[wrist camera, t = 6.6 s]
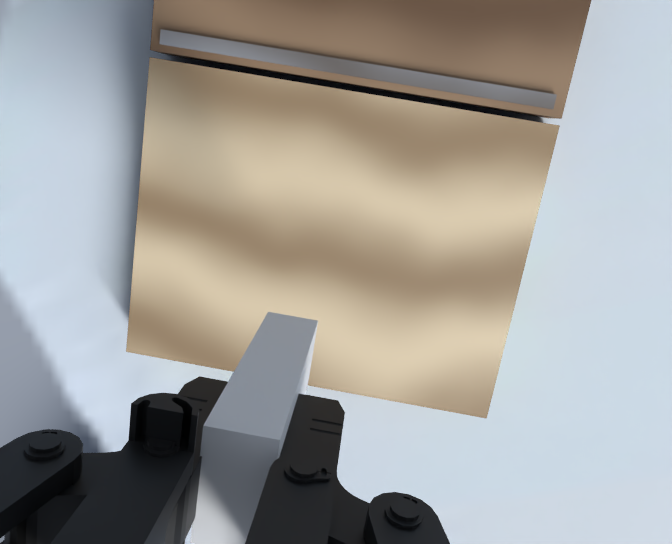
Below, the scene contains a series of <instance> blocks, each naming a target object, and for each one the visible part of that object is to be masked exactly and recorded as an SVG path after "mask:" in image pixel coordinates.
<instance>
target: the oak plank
mask: <svg viewBox="0 0 672 544" xmlns="http://www.w3.org/2000/svg"><path fill="white" fill-rule="evenodd" d="M558 130H559V125H553V124H547V123H541V122H535V121H529V120H523V119H517V118H511V117H505V116H499V115H493V114H487V113H481V112H475V111H469V110H463V109H457V108H451V107H445V106H439V105H433V104H427V103H421V102H415V101H409V100H403V99H397V98H391V97H385V96H379V95H373V94H367V93H361V92H355V91H349V90H343V89H337V88H331V87H325V86H319V85H313V84H307V83H301V82H295V81H289V80H283V79H277V78H271V77H265V76H259V75H253V74H247V73H241V72H235V71H229V70H223V69H217V68H211V67H205V66H199V65H193V64H187V63H181V62H175V61H169V60H163V59H157V58H151V57H150V60H149V72H148V85H147V97H146V110H145V122H144V135H143V147H142V160H141V173H140V185H139V198H138V210H137V223H136V235H135V248H134V260H133V273H132V285H131V298H130V311H129V323H128V336H127V348H126V352H131V353H136V354H141V355H147V356H152V357H158V358H163V359H168V360H174V361H179V362H185V363H190V364H195V365H201V366H206V367H212V368H217V369H222V370H228V371H233V372H234V371H235V369H236V367H237V366H238V364H239V362H240V360H241V359H242V357H243V355H244V353H245V352H246V350H247V348H248V346H249V344H250V343H251V341H252V339H253V337H254V336H255V334H256V332H257V330H258V329H259V327H260V325H261V323H262V322H263V320H264V318H265V316H266V315H267V313H268V312H273V313H279V314H284V315H290V316H295V317H301V318H306V319H312V320H317V321H318V325H317V331H316V337H315V344H314V350H313V356H312V362H311V368H310V374H309V381H308V385H309V386H314V387H320V388H325V389H331V390H336V391H341V392H347V393H352V394H358V395H363V396H368V397H374V398H379V399H385V400H390V401H395V402H401V403H406V404H412V405H417V406H422V407H428V408H433V409H439V410H444V411H449V412H455V413H460V414H466V415H471V416H476V417H482V418H487V414H488V410H489V406H490V402H491V398H492V394H493V390H494V386H495V382H496V378H497V374H498V370H499V366H500V362H501V358H502V354H503V350H504V346H505V342H506V338H507V334H508V330H509V326H510V322H511V318H512V314H513V310H514V306H515V302H516V298H517V294H518V290H519V286H520V282H521V278H522V274H523V270H524V266H525V262H526V258H527V254H528V250H529V246H530V242H531V238H532V234H533V230H534V226H535V222H536V218H537V214H538V210H539V206H540V202H541V198H542V194H543V190H544V186H545V182H546V178H547V174H548V170H549V166H550V162H551V158H552V154H553V150H554V146H555V142H556V138H557V134H558Z"/></svg>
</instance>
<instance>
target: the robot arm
mask: <svg viewBox="0 0 672 544" xmlns="http://www.w3.org/2000/svg"><path fill="white" fill-rule="evenodd" d="M317 325H318V321H317V320H312V319H306V318H301V317H295V316H290V315H284V314H279V313H273V312H268V313H267V315H266V316H265V318H264V320H263V322H262V323H261V325H260V327H259V329H258V330H257V332H256V334H255V336H254V337H253V339H252V341H251V343H250V344H249V346H248V348H247V350H246V352H245V353H244V355H243V357H242V359H241V360H240V362H239V364H238V366H237V367H236V369H235V371H234V373H233V374H232V376H231V378H230V380H229V381H228V382H226V381H221V380H215V379H210V378H205V377H198V378H196V379H194V380H192V381H190V382H188V383H186V384H185V385H184V386H183V388H182V389H181V390H180V392H179V393H178V394H170V393H157V394H149V395H146V396H143V397H140V398H138V399H137V400H135V401H134V402H133V403H131V416H130V429H129V441H128V442H127V443H126V445H125V446H124V447H123V449H122V450H121V451H117V452H108V453H83V443H82V442H81V440H80V438H79V437H77V436H76V435H74V434H72V433H70V432H66V431H61V430H53V429H52V430H50V429H48V430H41V431H35V432H31V433H28V434H25V435H23V436H21V437H18V438H16V439H15V440H13V441H11V442H10V443H8V444H6V445H4V446H3V447H1V448H0V538H1V537H2V536H4V535H5V540H4V541H3V542H1V543H0V544H185V538H186V536H187V534H188V532H189V530H190V528H191V525H192V531H191V540H190V543H192V544H450V543H449V540H448V538H447V536H446V534H445V532H444V529H443V527H442V525H441V523H440V521H439V518H438V516H437V515H436V513H435V512H434V511H433V509H432V508H431V507H430V506H429V505H427V504H426V503H425V502H423V501H422V500H420V499H418V498H416V497H413V496H411V495H408V494H403V493H397V492H392V493H383V494H381V495H379V496H377V497H374V498H373V500H372V501H371V503H367V502H365V501H363V500H361V499H359V498H357V497H355V496H353V495H352V494H350V493H349V492H348V491H346V490H345V489H344V488H343V486H342V485H341V484H340V482H339V480H338V478H337V464H338V457H339V450H340V443H341V435H342V429H343V421H344V414H345V412H344V410H343V409H342V407H341V405H340V403H339V402H338V401H337V400H331V399H326V398H321V397H315V396H310V395H306V393H307V387H308V381H309V374H310V368H311V362H312V356H313V350H314V344H315V337H316V331H317Z"/></svg>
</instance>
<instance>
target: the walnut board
mask: <svg viewBox="0 0 672 544" xmlns="http://www.w3.org/2000/svg"><path fill="white" fill-rule="evenodd" d="M590 3H591V0H154V7H153V21H152V34H151V47H150V50H152V51H156V52H159V53H163V54H167V55H173V56H179V57H185V58H191V59H197V60H203V61H209V62H215V63H221V64H227V65H233V66H239V67H245V68H251V69H257V70H263V71H269V72H275V73H281V74H287V75H293V76H299V77H305V78H311V79H317V80H323V81H329V82H335V83H341V84H347V85H353V86H359V87H365V88H371V89H377V90H383V91H389V92H395V93H401V94H407V95H413V96H419V97H425V98H431V99H437V100H443V101H449V102H455V103H461V104H467V105H473V106H479V107H485V108H491V109H497V110H503V111H509V112H515V113H521V114H527V115H533V116H539V117H545V118H562V114H563V110H564V106H565V102H566V98H567V94H568V90H569V86H570V82H571V78H572V75H573V71H574V67H575V63H576V59H577V55H578V51H579V47H580V43H581V39H582V35H583V31H584V27H585V23H586V19H587V15H588V11H589V7H590Z"/></svg>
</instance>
